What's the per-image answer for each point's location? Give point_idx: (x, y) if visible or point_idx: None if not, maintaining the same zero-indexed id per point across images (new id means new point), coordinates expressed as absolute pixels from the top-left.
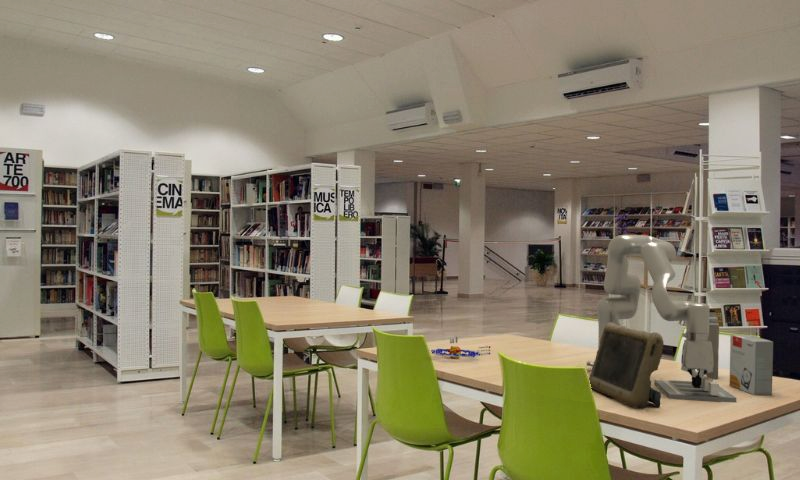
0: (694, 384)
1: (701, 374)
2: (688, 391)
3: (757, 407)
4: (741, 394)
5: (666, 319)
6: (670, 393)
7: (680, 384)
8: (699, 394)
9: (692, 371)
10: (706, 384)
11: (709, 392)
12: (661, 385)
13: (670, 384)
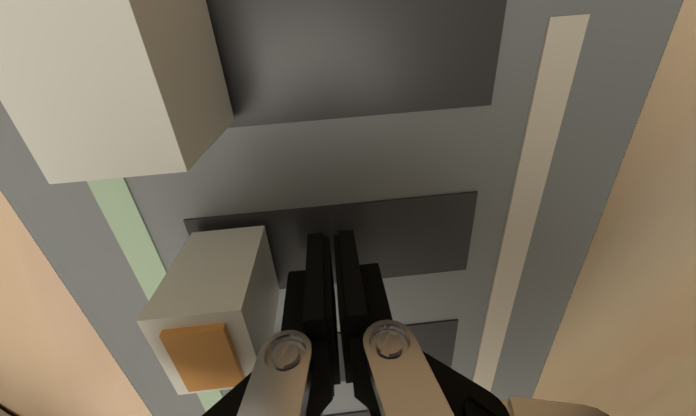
0: (361, 266)
1: (279, 374)
2: (415, 189)
3: None
4: (5, 343)
5: None
6: (660, 16)
7: None
8: (339, 62)
9: (437, 400)
10: (234, 267)
11: (218, 76)
12: (554, 318)
13: (473, 361)
